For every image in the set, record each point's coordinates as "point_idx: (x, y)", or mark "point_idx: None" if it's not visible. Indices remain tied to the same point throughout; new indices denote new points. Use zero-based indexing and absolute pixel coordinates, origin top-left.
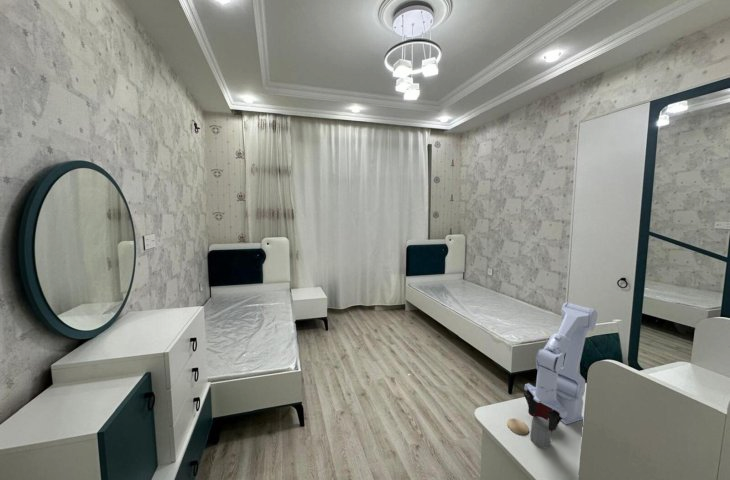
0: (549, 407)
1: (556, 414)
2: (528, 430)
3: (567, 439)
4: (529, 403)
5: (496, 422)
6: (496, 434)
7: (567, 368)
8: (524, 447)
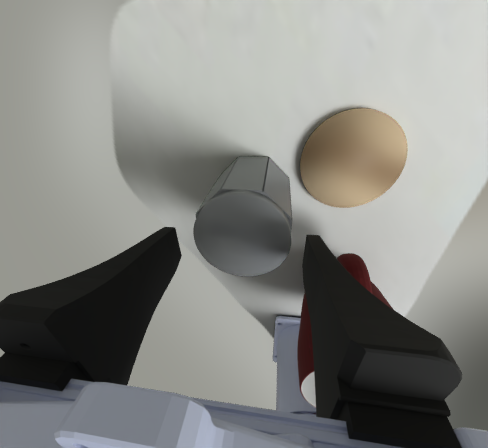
0: (300, 344)
1: (24, 352)
2: (307, 188)
3: (231, 275)
4: (332, 288)
5: (447, 60)
6: None
7: None
8: (244, 87)
